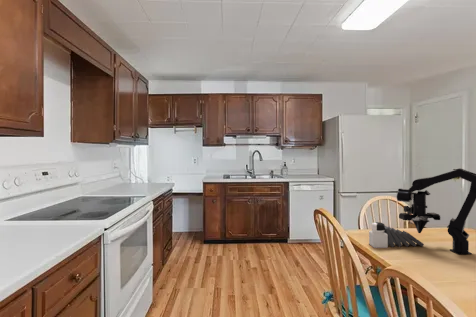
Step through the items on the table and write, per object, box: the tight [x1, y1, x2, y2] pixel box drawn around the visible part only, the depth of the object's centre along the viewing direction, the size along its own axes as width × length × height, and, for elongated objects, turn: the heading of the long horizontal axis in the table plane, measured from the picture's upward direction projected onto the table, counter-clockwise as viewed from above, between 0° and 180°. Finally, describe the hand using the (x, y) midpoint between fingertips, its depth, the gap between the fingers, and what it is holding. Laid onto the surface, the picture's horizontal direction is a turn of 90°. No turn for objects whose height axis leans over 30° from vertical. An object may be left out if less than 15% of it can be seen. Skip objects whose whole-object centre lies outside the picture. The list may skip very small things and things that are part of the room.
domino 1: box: [384, 225, 395, 248], centre depth 163 cm, size 5×2×10 cm, turn 0°
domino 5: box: [402, 230, 425, 247], centre depth 164 cm, size 5×2×10 cm
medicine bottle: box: [368, 221, 389, 249], centre depth 163 cm, size 7×7×12 cm
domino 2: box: [388, 226, 403, 248], centre depth 163 cm, size 5×2×10 cm, turn 0°
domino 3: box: [391, 227, 410, 248], centre depth 163 cm, size 5×2×10 cm
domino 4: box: [396, 229, 418, 248], centre depth 164 cm, size 5×2×10 cm
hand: (419, 232), depth 163 cm, fingers closed
